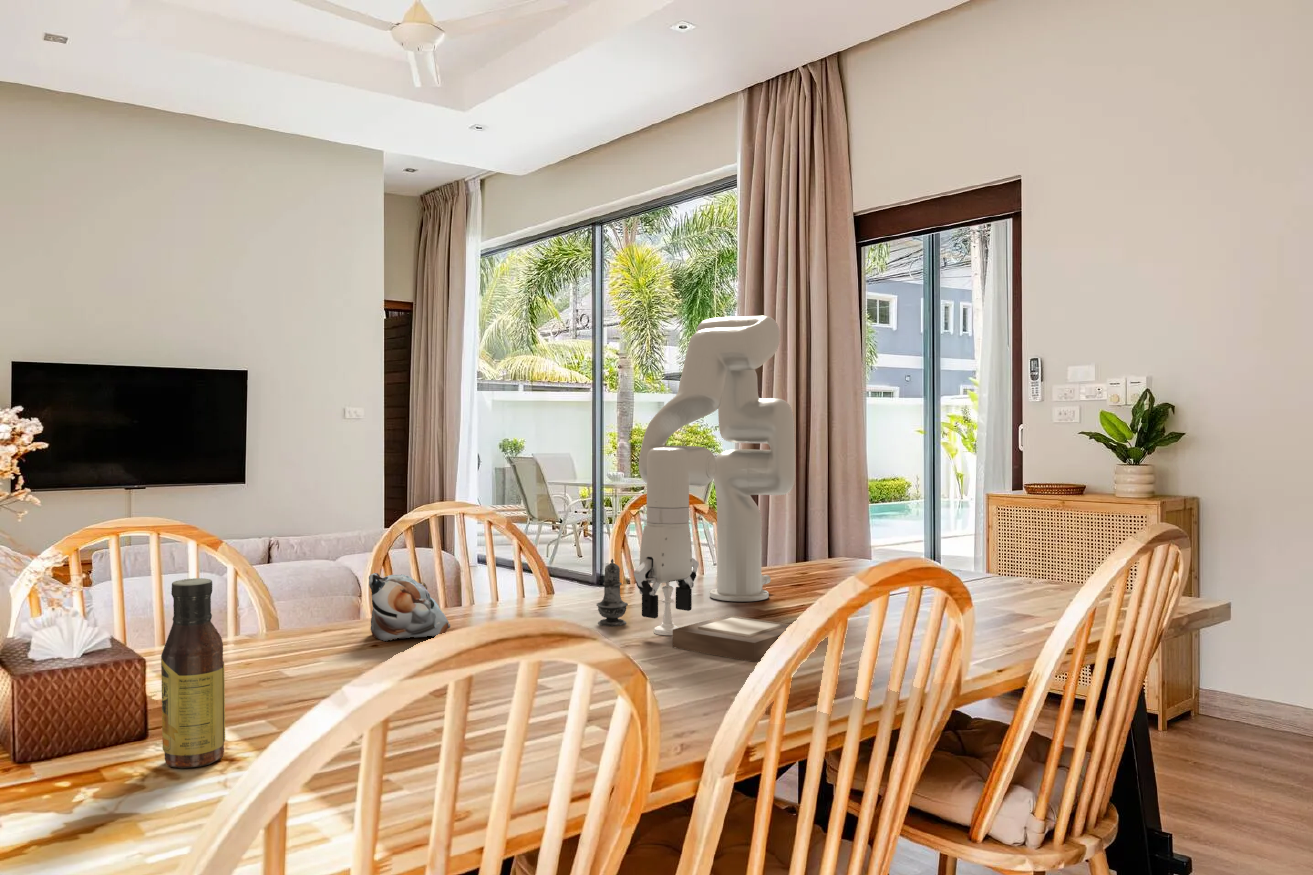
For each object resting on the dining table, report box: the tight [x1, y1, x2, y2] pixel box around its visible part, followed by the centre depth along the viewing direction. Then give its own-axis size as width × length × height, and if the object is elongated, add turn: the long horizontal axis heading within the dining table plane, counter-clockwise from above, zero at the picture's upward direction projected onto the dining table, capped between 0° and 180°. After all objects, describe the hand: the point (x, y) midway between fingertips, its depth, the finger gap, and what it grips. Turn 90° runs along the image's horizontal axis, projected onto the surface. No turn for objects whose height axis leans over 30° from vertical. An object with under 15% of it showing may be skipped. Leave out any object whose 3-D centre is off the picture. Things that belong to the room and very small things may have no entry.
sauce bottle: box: [160, 577, 226, 769], centre depth 109 cm, size 6×6×20 cm
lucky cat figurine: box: [368, 572, 451, 642], centre depth 171 cm, size 15×12×14 cm
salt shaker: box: [595, 558, 629, 627], centre depth 185 cm, size 6×6×12 cm
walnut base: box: [672, 614, 791, 663], centre depth 166 cm, size 16×16×3 cm
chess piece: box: [653, 582, 680, 636], centre depth 177 cm, size 5×5×10 cm
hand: (667, 613), depth 177 cm, fingers open, 9 cm apart
